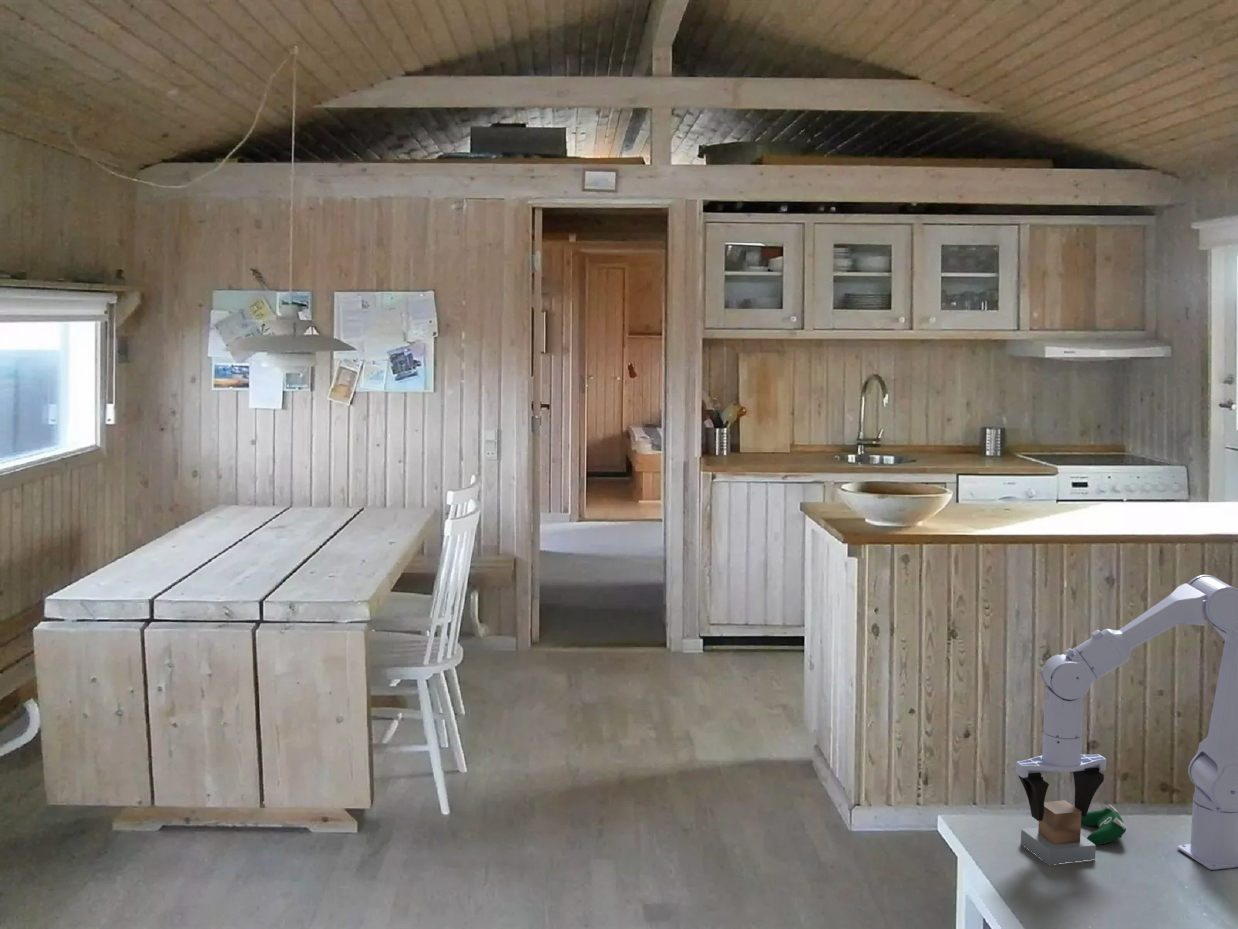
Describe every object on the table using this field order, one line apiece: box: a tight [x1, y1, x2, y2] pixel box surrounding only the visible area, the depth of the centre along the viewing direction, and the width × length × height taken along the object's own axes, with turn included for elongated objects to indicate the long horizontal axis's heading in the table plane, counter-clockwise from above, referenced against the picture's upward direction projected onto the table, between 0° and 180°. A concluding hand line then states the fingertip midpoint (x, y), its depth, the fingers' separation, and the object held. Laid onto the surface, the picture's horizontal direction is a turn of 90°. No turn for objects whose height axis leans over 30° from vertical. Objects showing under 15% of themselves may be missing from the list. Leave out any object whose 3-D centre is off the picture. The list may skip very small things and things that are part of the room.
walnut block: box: [1037, 800, 1082, 845], centre depth 189 cm, size 4×4×5 cm
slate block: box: [1020, 826, 1097, 866], centre depth 190 cm, size 8×8×3 cm
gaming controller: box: [1081, 803, 1127, 845], centre depth 196 cm, size 9×4×6 cm
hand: (1058, 816), depth 189 cm, fingers open, 7 cm apart
